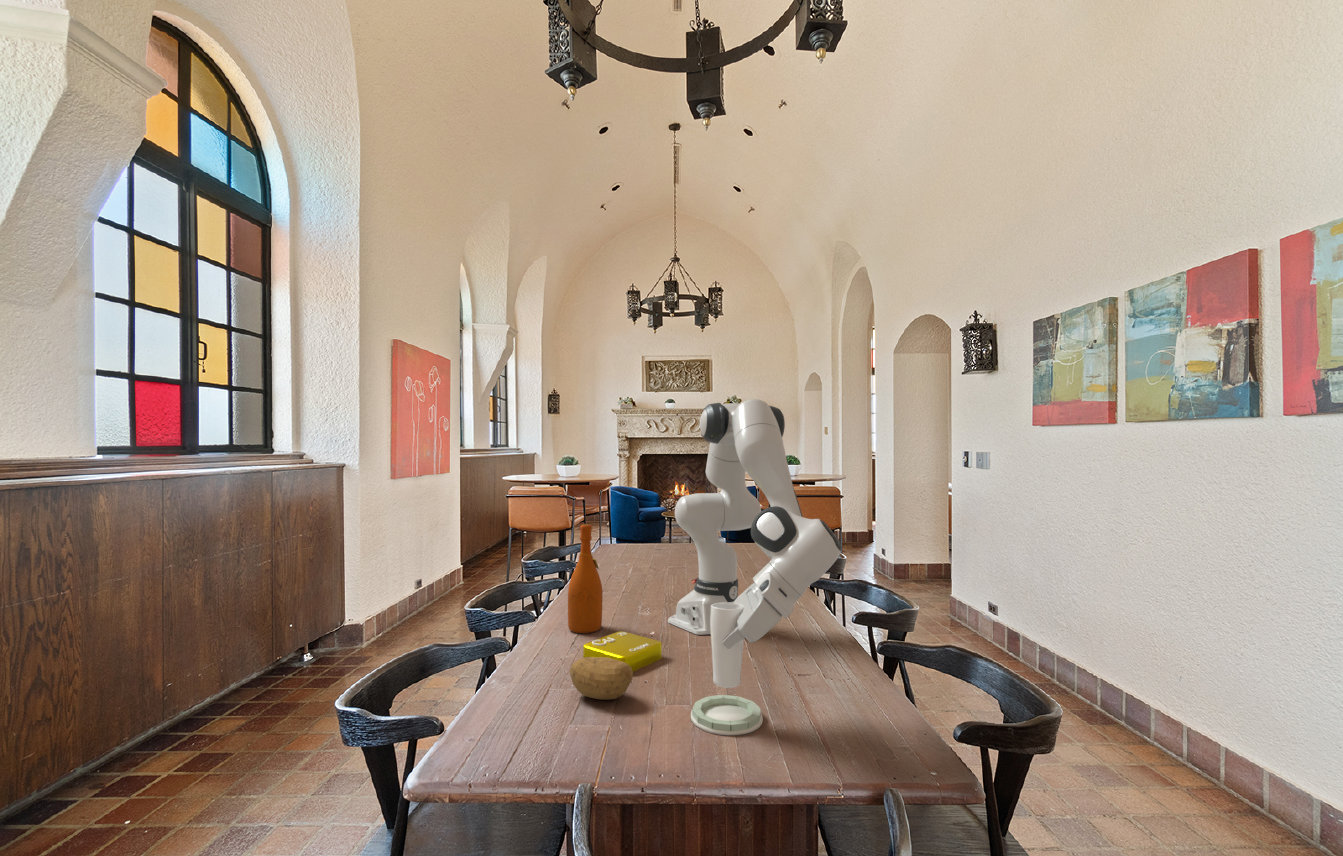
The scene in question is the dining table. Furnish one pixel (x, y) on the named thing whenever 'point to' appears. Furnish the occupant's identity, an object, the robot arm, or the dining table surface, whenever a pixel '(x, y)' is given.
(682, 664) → the dining table surface
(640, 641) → the element tile
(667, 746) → the dining table surface
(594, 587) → the wine bottle
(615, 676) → the potato
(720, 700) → the green rimmed plate
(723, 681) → the drinking glass
